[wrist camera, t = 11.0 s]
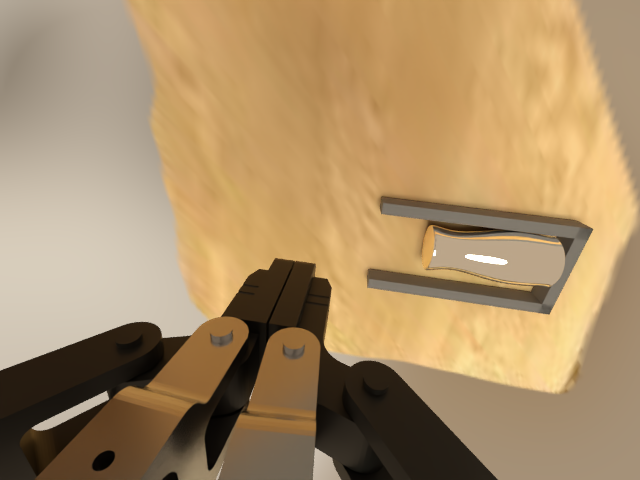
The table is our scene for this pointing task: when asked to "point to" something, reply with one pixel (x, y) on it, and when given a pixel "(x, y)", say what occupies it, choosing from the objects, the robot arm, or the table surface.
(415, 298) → the table surface
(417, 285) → the u rest
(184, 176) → the table surface
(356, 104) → the table surface
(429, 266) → the beer glass
